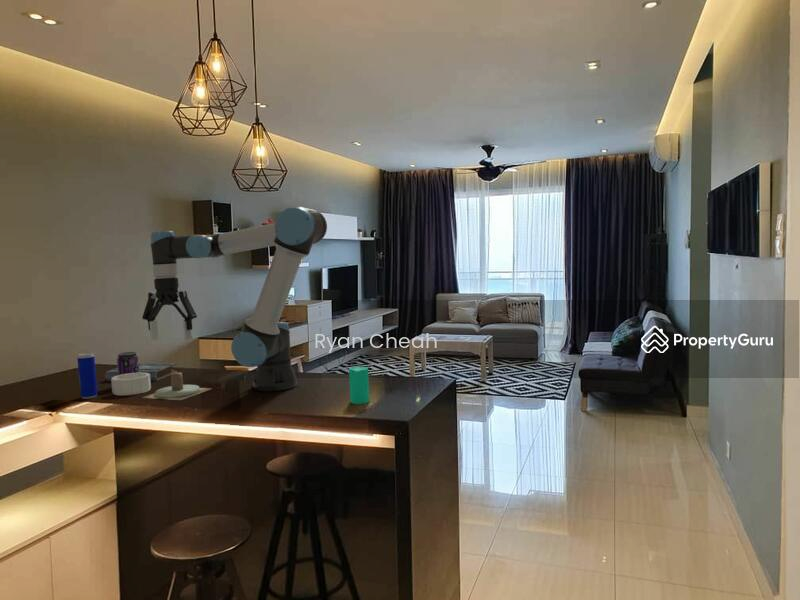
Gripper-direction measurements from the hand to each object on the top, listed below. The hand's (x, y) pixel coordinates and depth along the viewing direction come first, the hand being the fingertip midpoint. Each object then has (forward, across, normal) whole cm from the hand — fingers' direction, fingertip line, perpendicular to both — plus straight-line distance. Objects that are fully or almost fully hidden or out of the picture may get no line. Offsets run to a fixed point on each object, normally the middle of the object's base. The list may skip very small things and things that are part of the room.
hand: (171, 339), depth 202 cm
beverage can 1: (+19, +29, +8) cm, 35 cm away
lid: (+18, -1, +1) cm, 18 cm away
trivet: (+19, -1, +1) cm, 19 cm away
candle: (+20, -66, -3) cm, 70 cm away
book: (+19, +34, -23) cm, 46 cm away
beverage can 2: (+19, +28, -10) cm, 35 cm away
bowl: (+19, +18, +1) cm, 26 cm away
